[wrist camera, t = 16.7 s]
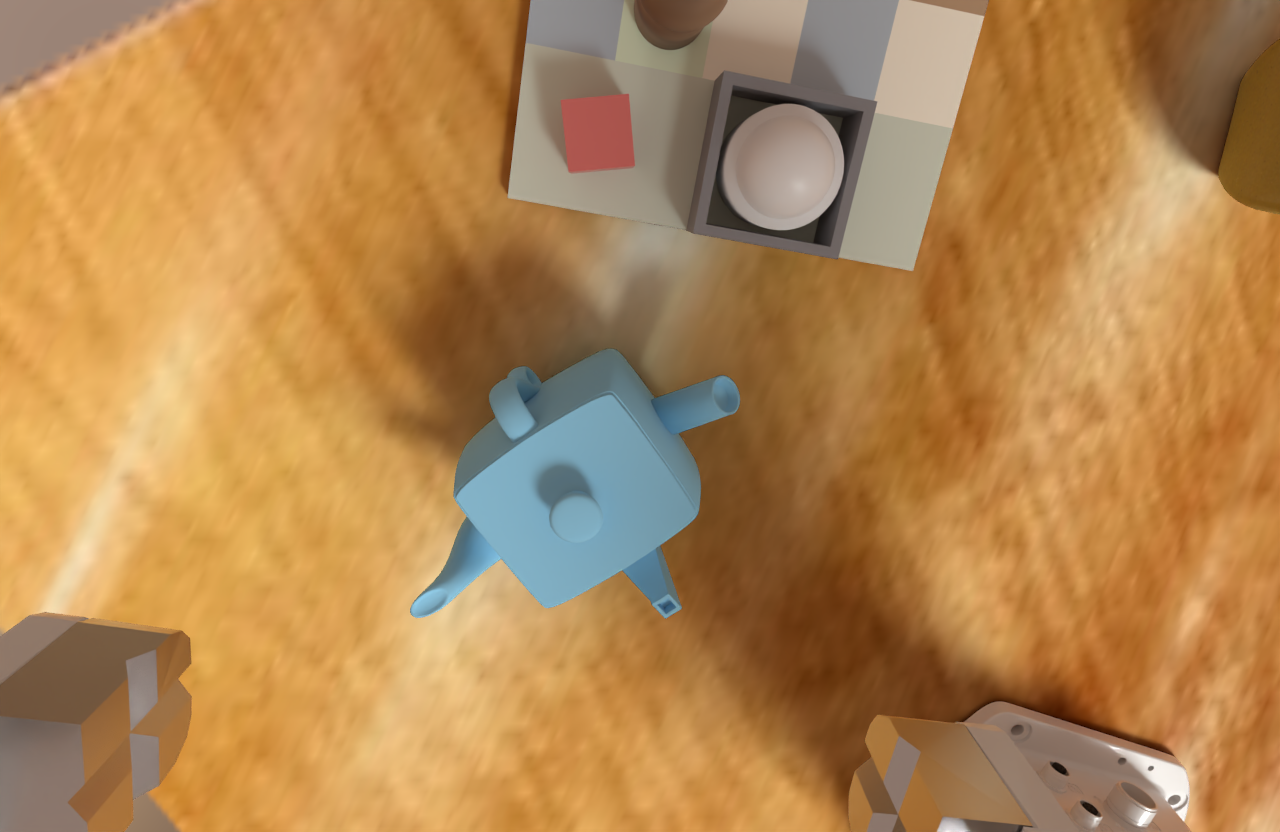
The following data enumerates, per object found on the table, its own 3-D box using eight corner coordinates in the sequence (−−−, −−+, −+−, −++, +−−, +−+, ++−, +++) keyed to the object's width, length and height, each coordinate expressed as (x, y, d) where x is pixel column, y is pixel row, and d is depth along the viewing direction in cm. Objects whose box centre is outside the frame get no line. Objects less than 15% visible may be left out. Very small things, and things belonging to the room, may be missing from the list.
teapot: (652, 257, 38) (668, 280, 28) (787, 464, 41) (841, 546, 32) (382, 443, 40) (311, 522, 30) (533, 622, 44) (512, 743, 34)
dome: (837, 122, 35) (874, 111, 30) (810, 236, 36) (842, 243, 31) (728, 101, 34) (748, 85, 29) (705, 216, 36) (721, 220, 31)
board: (980, -2, 35) (1026, -26, 31) (905, 269, 38) (938, 277, 35) (545, -97, 33) (536, -136, 29) (510, 197, 36) (498, 198, 33)
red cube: (627, 101, 34) (629, 93, 32) (632, 167, 35) (635, 165, 32) (564, 107, 34) (560, 99, 32) (571, 173, 35) (568, 172, 32)
